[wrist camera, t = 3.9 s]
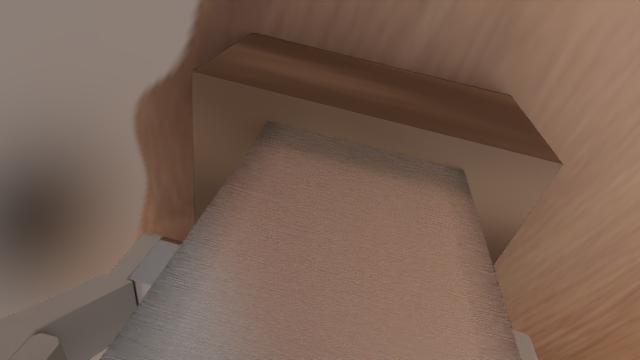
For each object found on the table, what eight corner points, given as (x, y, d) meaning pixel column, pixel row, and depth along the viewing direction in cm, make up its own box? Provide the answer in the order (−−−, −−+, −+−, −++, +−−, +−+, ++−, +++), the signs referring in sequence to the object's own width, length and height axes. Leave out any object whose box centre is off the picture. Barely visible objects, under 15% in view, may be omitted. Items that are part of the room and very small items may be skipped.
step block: (419, 272, 23) (425, 362, 18) (238, 224, 23) (196, 299, 18) (511, 95, 16) (563, 164, 11) (252, 32, 16) (191, 71, 11)
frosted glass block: (405, 285, 15) (414, 612, 8) (254, 245, 15) (124, 525, 8) (463, 168, 12) (581, 556, 4) (269, 119, 12) (66, 406, 5)
